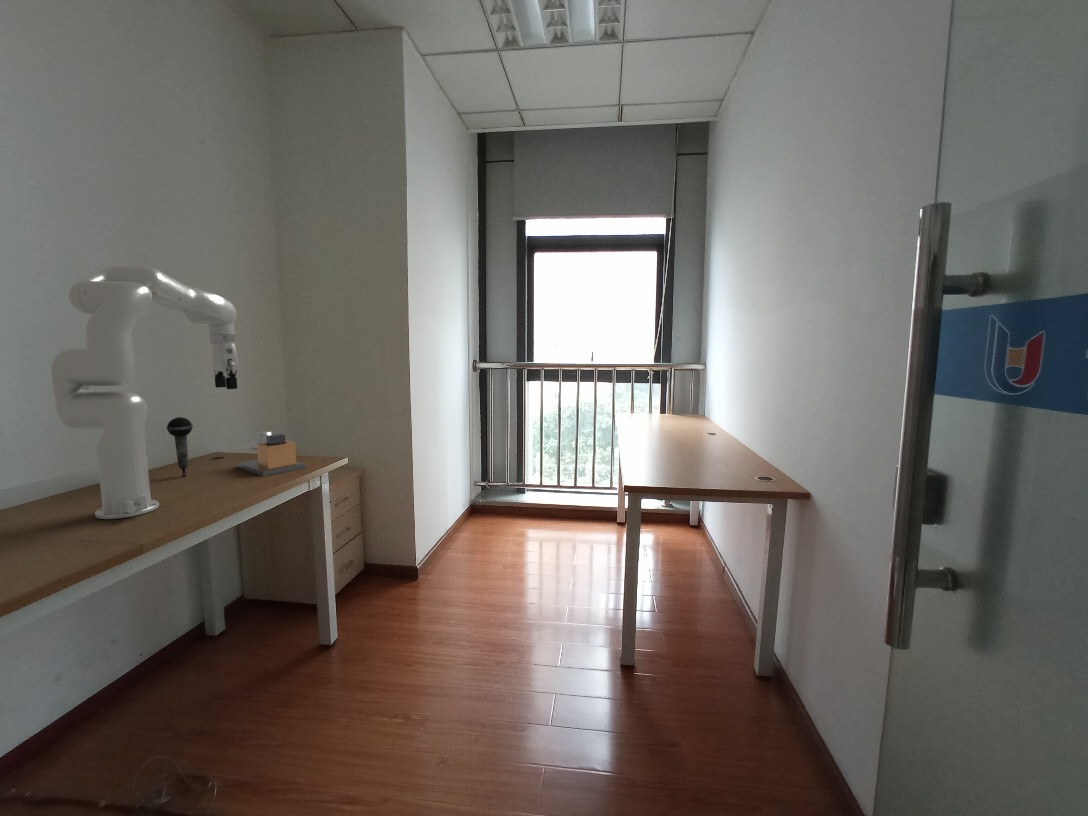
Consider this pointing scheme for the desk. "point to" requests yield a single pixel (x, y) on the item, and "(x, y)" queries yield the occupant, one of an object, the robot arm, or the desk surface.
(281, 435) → the grey rectangular block
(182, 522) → the desk surface
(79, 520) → the desk surface
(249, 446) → the orange slotted box
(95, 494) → the desk surface
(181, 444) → the microphone
